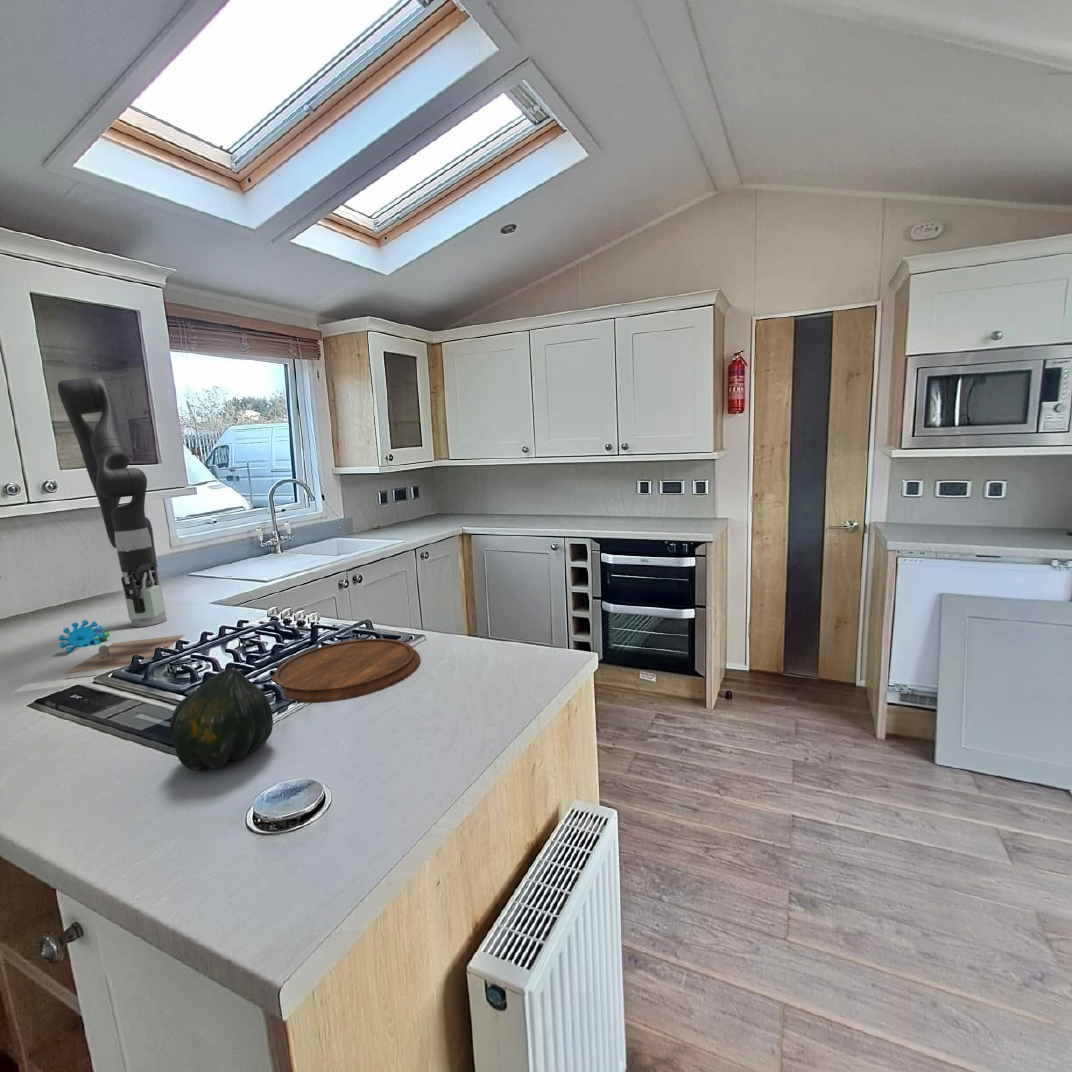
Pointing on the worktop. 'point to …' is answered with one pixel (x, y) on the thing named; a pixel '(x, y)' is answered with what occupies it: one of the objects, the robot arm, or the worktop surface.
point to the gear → (83, 636)
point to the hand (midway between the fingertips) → (146, 609)
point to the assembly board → (123, 653)
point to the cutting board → (346, 670)
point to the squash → (220, 721)
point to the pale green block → (147, 603)
